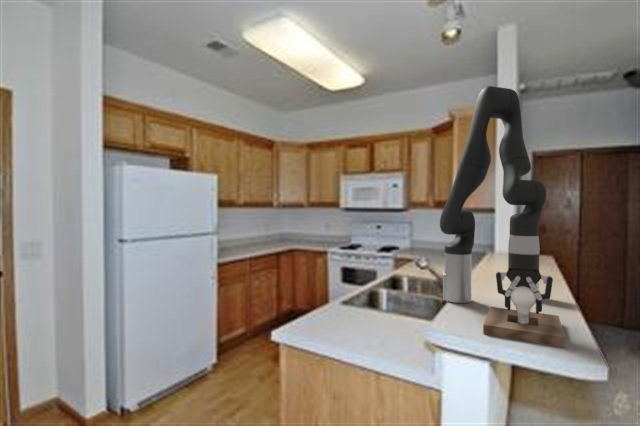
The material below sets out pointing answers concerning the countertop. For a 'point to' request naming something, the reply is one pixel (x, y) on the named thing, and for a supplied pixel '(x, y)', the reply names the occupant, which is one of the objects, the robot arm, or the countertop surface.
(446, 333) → the countertop surface
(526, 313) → the lightbulb
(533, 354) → the countertop surface
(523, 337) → the holder block
